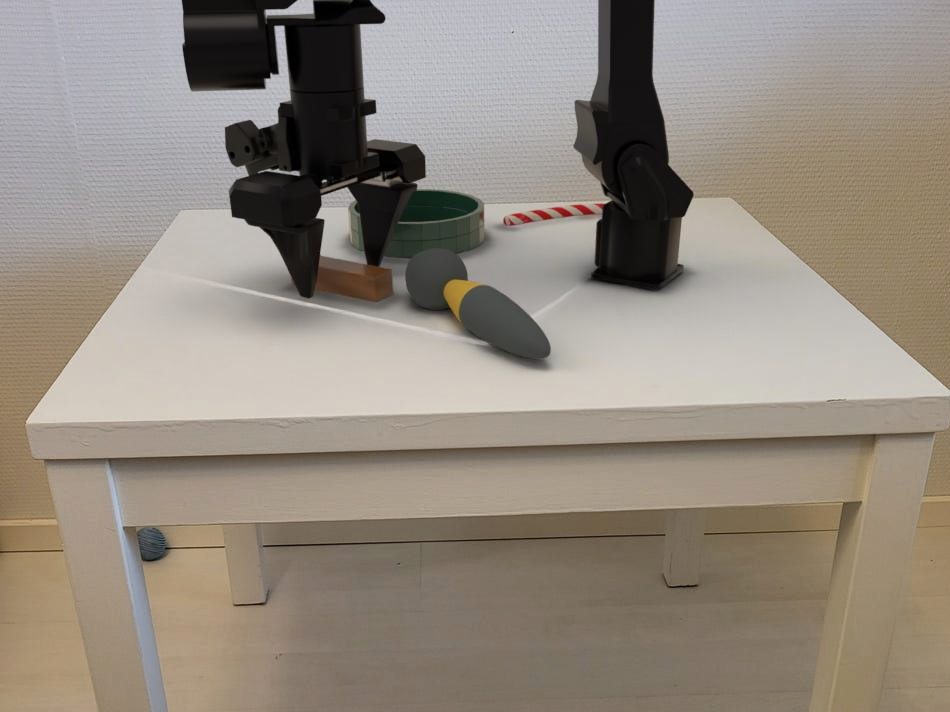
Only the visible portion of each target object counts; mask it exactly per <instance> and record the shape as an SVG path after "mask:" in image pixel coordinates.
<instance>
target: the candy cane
mask: <svg viewBox="0 0 950 712" xmlns="http://www.w3.org/2000/svg"><path fill="white" fill-rule="evenodd" d="M604 204H605V203H581V204H569V205H562V206H554V207H546V208H540V209H534V210H527V211H522V212H515V213H511V214H507V215H505V216H503V219H502V223H503V225H504V226H515V225H521V224H527V223H528V224H529V223H533V222H540V221H544V220H552V219H559V218H566V217H576V216H584V215H585V216H586V215H602V207H603V205H604Z"/></svg>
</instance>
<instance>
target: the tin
mask: <svg viewBox="0 0 950 712" xmlns="http://www.w3.org/2000/svg"><path fill="white" fill-rule="evenodd" d="M347 214H348V215H347V216H348V229H349V230H348V231H349V240H350V243H351V245H352V246H353V247H354V248H356V249H357V250H359V251H361V252H364V245H363V237H362V229H361V221H360V212H359V205H358V203H357V201H356V200H355V199H354V200H353V201H352V202H350V203H349V205H348V207H347ZM484 240H485V202H484V201H483V200H482V199H481V198H479V197H477V196H474V195H472V194H468V193H464V192H461V191H456V190H448V189H434V188H433V189H431V188H417V190H416V191H414V192H413V193H412V195H411V197H410V199H409V201H408V203H407V205H406V207H405V209H404V211H403V213H402V215H401V217H400V220H399V222H398V224H397V226H396V229H395V231H394V233H393V235H392V238H391V240H390V243H389V245H388V247H387V250H386V252H385V255H384V258H385V257H387V258H393V259H395V258H397V259H411V258H412V257H413V256H414V255H416V254H417V253H419V252H422V251H424V250H427V249H432V248H441V249H447V250H450V251H452V252H454V253H455V254H457V255H458V254H462V253H465V252H468V251H471V250H473V249H476V248H478V247H479V246H481V245H482V244H483V242H484Z"/></svg>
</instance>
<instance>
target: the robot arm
mask: <svg viewBox="0 0 950 712" xmlns="http://www.w3.org/2000/svg"><path fill="white" fill-rule="evenodd" d="M297 1H298V0H181V6H182V27H183V29H182V30H183V40H184V42H183V43H182V45H181V48H182V54H183V55H182V56H183V62H184V67H185V74H186V78H187V83H188V86H189V89H190V92H223V91H224V92H225V91H253V90H254V91H255V90H257V91H258V90H260V91H261V90H267V80H271V79H272V77H271V76H280V65H279V53H278V43H277V33H276V27H283V30H284V43H285V52H286V64H287V74H288V84H289V95H290V100H286V101H283V102H282V101H281V102H279V106H278V108H277V122H276V123H274V124H272V125H268V126H265V127H261V128H259V127H258V126H257V125H256V124H255V122H254V121H253V120H251V119H248V120H242V121H239V122H234V123H232V124H229V125H227V126H225V127H224V142H225V143H224V146H225V151H226V154H227V157H228V160H229V161H230V164H231V165H232V166H234V167H235V168H241V167H244V166H245V169H246V172H247V174H248V175H247V176H244V177H240V178H237V179H235V180H234V182H233V183H232V184H231V186H230V187H229V189H228V197H229V204H230V211H231V212H230V213H231V218H234V219H240V220H244V221H245V223H246V224H247V226H251V227H257V228H259V229H260V230H262V231H263V232H264V233H265V234H266V235H267V236H268V237H269V238H270V239H271V241H272V242H273V244H274V246H275V247H276V249H277V251H278V252H279V255H280V256H281V259H282V260H283V263H284V264H285V267H286V269H287V271H288V273H289V275H290V277H292V279H291V281H292V280H293V282H294V284H295V285H294V286H295V288H296V290H297V292H298V294H299V296H300V297H301V298H304V299H313V297H314V295H315V291H316V290H315V287H316V282H317V275H318V267H319V260H320V256H321V251H322V245H323V244H322V243H323V237H324V229H325V222H326V221H325V219H324V218H321V217H318V214H319V212H320V210H321V208H322V205H323V202H322V197H323V196H326V195H328V194H331V193H335V192H337V191H340V190H343V189H346V188H347V189H348V191H349V192H350V193H351V195H352V197H353V198H354V201H355V200H356V201H357V203H358V205H359V212H360V221H361V229H362V237H363V245H364V251H363V252H364V257H365V261H366V264H367V265H372V266H377V267H381V264H382V262H383V260H384V258H385V256H384V255H385V252H386V250H387V247H388V245H389V243H390V240H391V238H392V235H393V233H394V231H395V229H396V226H397V224H398V222H399V220H400V217H401V215H402V213H403V211H404V209H405V207H406V205H407V203H408V201H409V199H410V197H411V195H412V193H413V192H414V191H416V190H417V189H418V184H417V181H420V180H424V179H425V178H427V170H426V155H425V154H424V152H423V151H422V149H421V148H420V147H419V146H418V145H417V144H416V143H410V142H404V141H403V142H402V141H393V140H385V139H378V138H374V139H371V140H368V134H367V133H368V132H367V116H371V115H375V114H377V100H376V99H373V98H372V99H371V98H366V97H365V83H364V66H363V64H364V63H363V47H362V32H361V31H362V30H361V25H382V24H384V23H385V22H386V19H387V17H386V14H384V12H383V11H382V10H380V9H379V8H378V7H377V6H376V5H375V4H374V3H373V2H372V1H371V0H312V11H313V13H299V14H297V13H296V14H267V12H266V11H268V10H271V11H273V10H274V11H275V10H286V9H289V8H290V7H292V5H294V4H295V3H296V2H297ZM655 3H656V1H655V0H597V13H598V14H597V33H598V34H597V39H598V40H597V77H596V82H595V85H594V87H593V91H592V94H591V97H590V100H585V99H584V100H582V99H576V100H574V103H573V104H574V113H575V114H574V115H575V120H576V127H577V128H576V129H577V130H576V138H575V140H574V143H573V149H574V150H575V151H576V152H578V153H579V154H580V155H581V160H582V164H583V166H584V168H585V169H586V171H588V172H589V174H591V175H592V176H593V177H594V178H595V179H596V180H597V181H599V183H600V187H601V190H602V193H603V195H604V196H605V197H606V198H609V199H610V200H609V201H607V202H606V203H603V204H604V205H603V207H602V214H601V218H600V219H598V221H596V229H595V243H594V244H595V245H594V263H593V264H594V265H595V267H597V268H595V269H593V270H592V271H591V273H590V276H591V277H590V278H591V279H594V280H600V281H605V282H611V283H617V284H623V285H628V286H633V287H639V288H645V289H651V290H659V289H661V288H663V287H664V286H665V285H667V284H668V283H669V282H671V281H673V280H674V278H676V277H677V276H678V275H680V274H681V273H683V272H684V270H685V265H684V264H682V263H679V255H680V254H679V253H680V242H681V231H682V220H683V218H685V217H686V214H687V212H688V209H689V207H690V205H691V203H692V201H693V198H694V195H695V194H694V191H693V190H692V189H691V188H690V187H689V186H688V185H687V184H686V182H685V181H684V180H683V178H682V177H680V176H679V175H678V174H677V173H676V171H674V169H673V168H672V167H671V166H670V164H669V163H670V154H669V146H668V139H667V137H668V136H667V130H666V124H665V123H666V122H665V117H664V114H663V110H662V107H661V104H660V100H659V96H658V92H657V90H656V86H655V83H654V76H653V75H654V74H653V72H654V71H653V69H654V40H655V39H654V36H655V35H654V34H655ZM270 170H271V171H270ZM275 170H279V172H276V171H275ZM283 172H287V173H283ZM292 172H297V173H298V174H299V175H297V174H291V173H292Z"/></svg>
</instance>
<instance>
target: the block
mask: <svg viewBox="0 0 950 712" xmlns="http://www.w3.org/2000/svg"><path fill="white" fill-rule="evenodd" d="M290 277H291V276H290ZM393 281H394V280H393V269H392V268H388V267H382V266H379V267H377V266H372V265H367V263H361V262H356V261H351V260H347V259H341V258H334V257H330V256H324V255H320V260H319V267H318V275H317V282H316V287H315V291H320V292H325V293H328V294H329V293H330V294H334V295H339V296H344V297H348V298H353V299H358V300H363V301H368V302H373V303H378V302H379V301H382V300H384V299H385V298H388V297H390V296H392V295H393V294H394V283H393ZM291 285H292V286H295V284H294V282H293V280H292V277H291Z"/></svg>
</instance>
